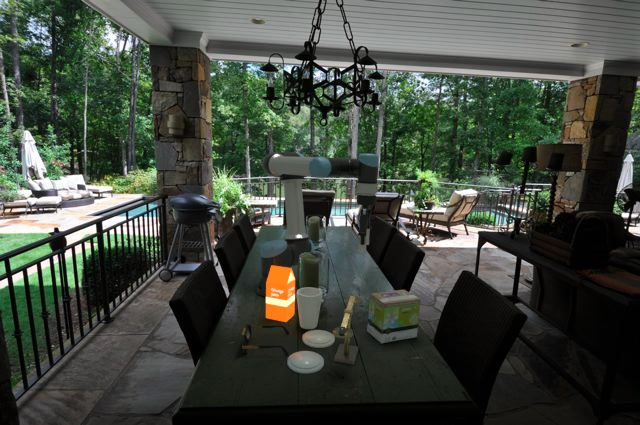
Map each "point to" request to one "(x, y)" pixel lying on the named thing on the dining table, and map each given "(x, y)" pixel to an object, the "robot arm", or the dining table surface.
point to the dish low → (305, 362)
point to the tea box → (393, 315)
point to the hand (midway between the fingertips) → (363, 248)
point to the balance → (346, 333)
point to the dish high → (318, 338)
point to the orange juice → (280, 293)
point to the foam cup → (309, 306)
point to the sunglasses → (246, 337)
